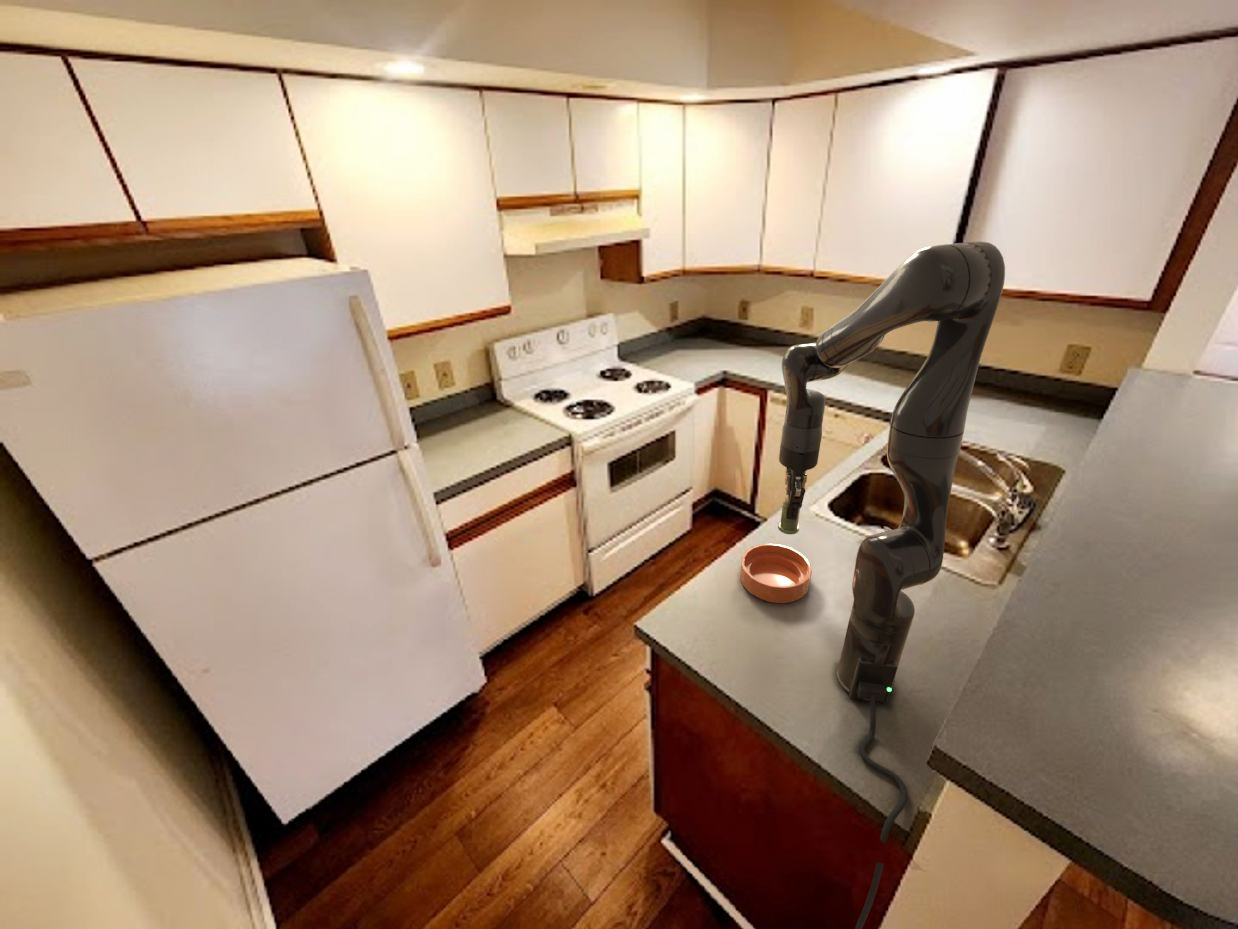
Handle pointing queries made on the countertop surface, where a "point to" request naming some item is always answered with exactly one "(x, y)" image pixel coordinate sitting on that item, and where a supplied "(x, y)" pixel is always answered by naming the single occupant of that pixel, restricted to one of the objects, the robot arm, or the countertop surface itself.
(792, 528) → the peg doll
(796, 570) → the bowl
